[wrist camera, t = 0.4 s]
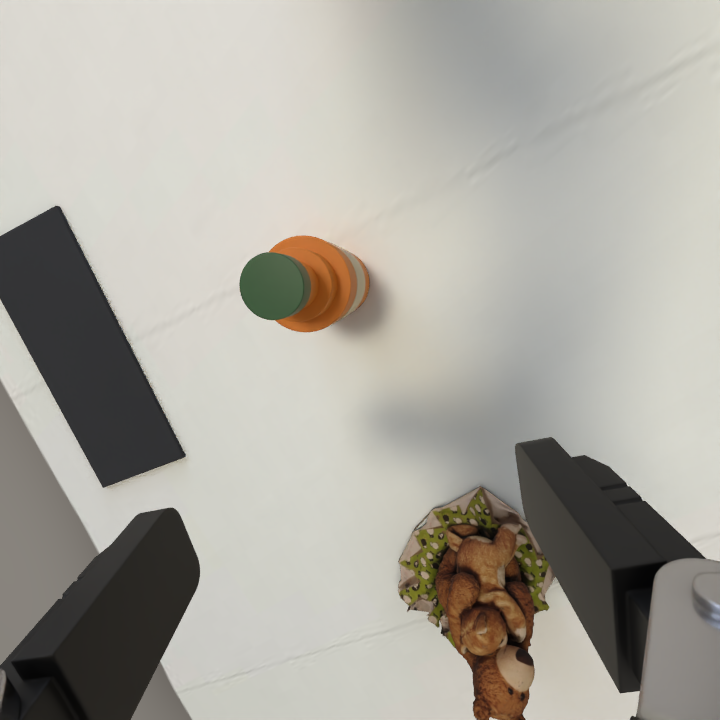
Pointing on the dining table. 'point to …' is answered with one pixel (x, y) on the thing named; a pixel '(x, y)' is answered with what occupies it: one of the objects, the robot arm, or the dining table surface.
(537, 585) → the bear figurine
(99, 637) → the robot arm
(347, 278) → the juice bottle
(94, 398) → the front mat
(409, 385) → the dining table surface
